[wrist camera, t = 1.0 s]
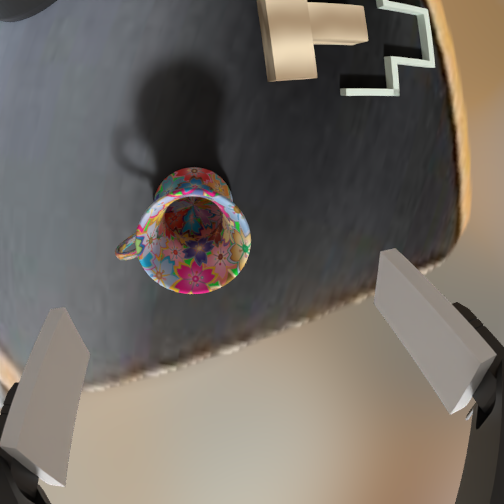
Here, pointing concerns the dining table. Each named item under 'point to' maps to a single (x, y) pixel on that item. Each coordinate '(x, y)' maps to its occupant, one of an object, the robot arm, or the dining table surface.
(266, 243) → the dining table surface
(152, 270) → the mug
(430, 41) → the jig
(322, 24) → the t block
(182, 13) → the dining table surface
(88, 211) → the dining table surface
